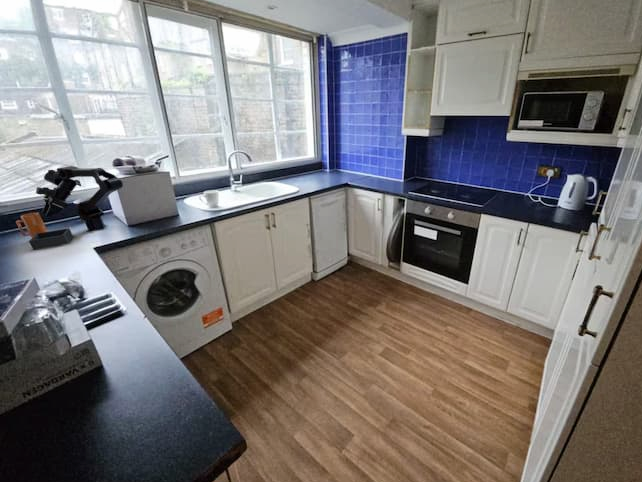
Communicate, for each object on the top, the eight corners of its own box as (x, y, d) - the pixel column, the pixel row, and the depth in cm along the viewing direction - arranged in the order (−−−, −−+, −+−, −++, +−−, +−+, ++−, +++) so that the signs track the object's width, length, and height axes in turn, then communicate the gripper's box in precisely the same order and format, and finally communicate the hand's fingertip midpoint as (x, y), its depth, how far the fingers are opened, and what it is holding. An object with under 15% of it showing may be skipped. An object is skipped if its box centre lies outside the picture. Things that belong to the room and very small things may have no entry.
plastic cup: (91, 222, 171) (82, 202, 166) (76, 221, 173) (67, 202, 168) (109, 216, 180) (101, 197, 176) (95, 215, 183) (87, 197, 178)
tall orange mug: (51, 235, 154) (40, 211, 148) (48, 239, 149) (36, 215, 144) (28, 239, 149) (15, 215, 144) (23, 243, 144) (10, 218, 139)
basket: (73, 236, 152) (69, 228, 150) (67, 243, 143) (63, 235, 141) (40, 241, 146) (36, 233, 144) (33, 250, 137) (28, 241, 135)
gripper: (40, 178, 151) (20, 204, 148) (48, 182, 141) (26, 210, 137) (67, 190, 160) (49, 214, 157) (76, 194, 150) (56, 221, 146)
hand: (44, 215), depth 149 cm, fingers open, 9 cm apart
